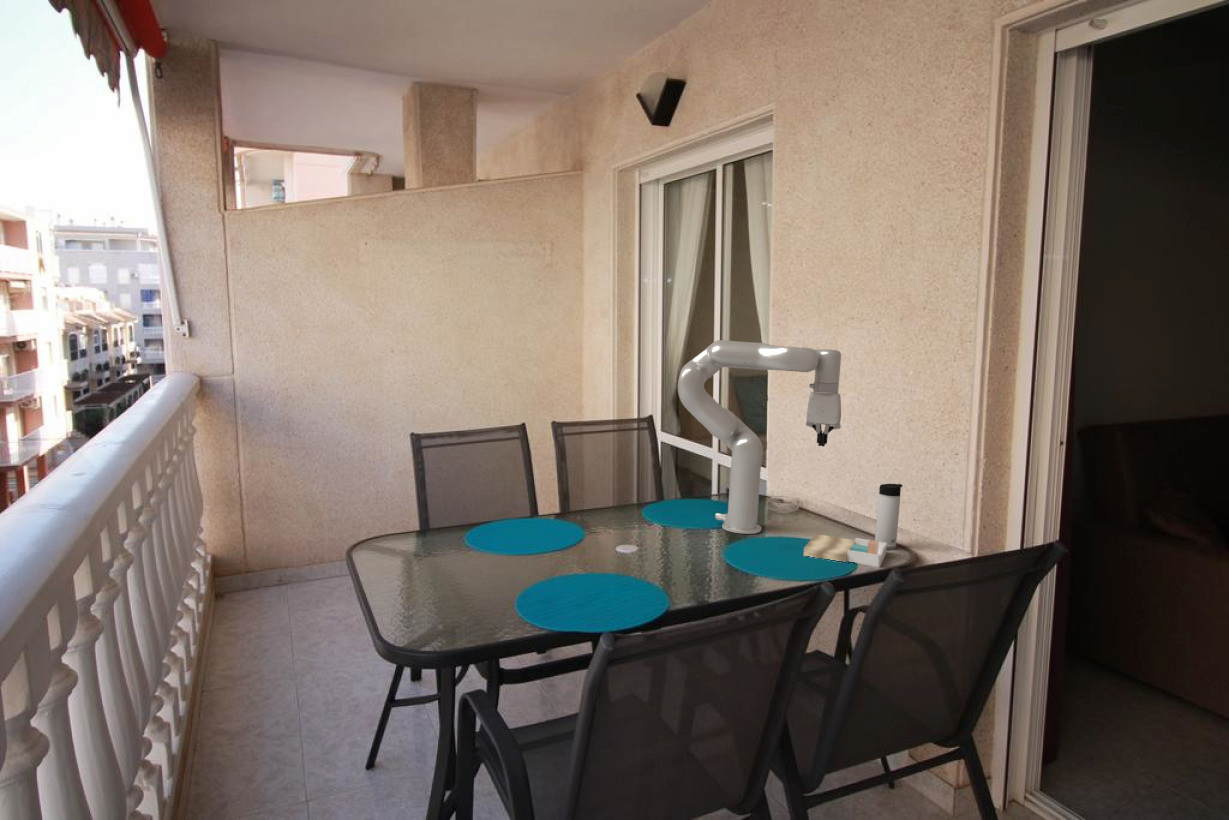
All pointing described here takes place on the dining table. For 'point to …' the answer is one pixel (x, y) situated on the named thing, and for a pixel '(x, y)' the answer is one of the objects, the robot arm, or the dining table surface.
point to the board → (828, 547)
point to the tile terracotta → (873, 547)
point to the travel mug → (888, 514)
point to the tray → (867, 554)
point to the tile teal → (859, 548)
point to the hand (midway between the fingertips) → (821, 445)
